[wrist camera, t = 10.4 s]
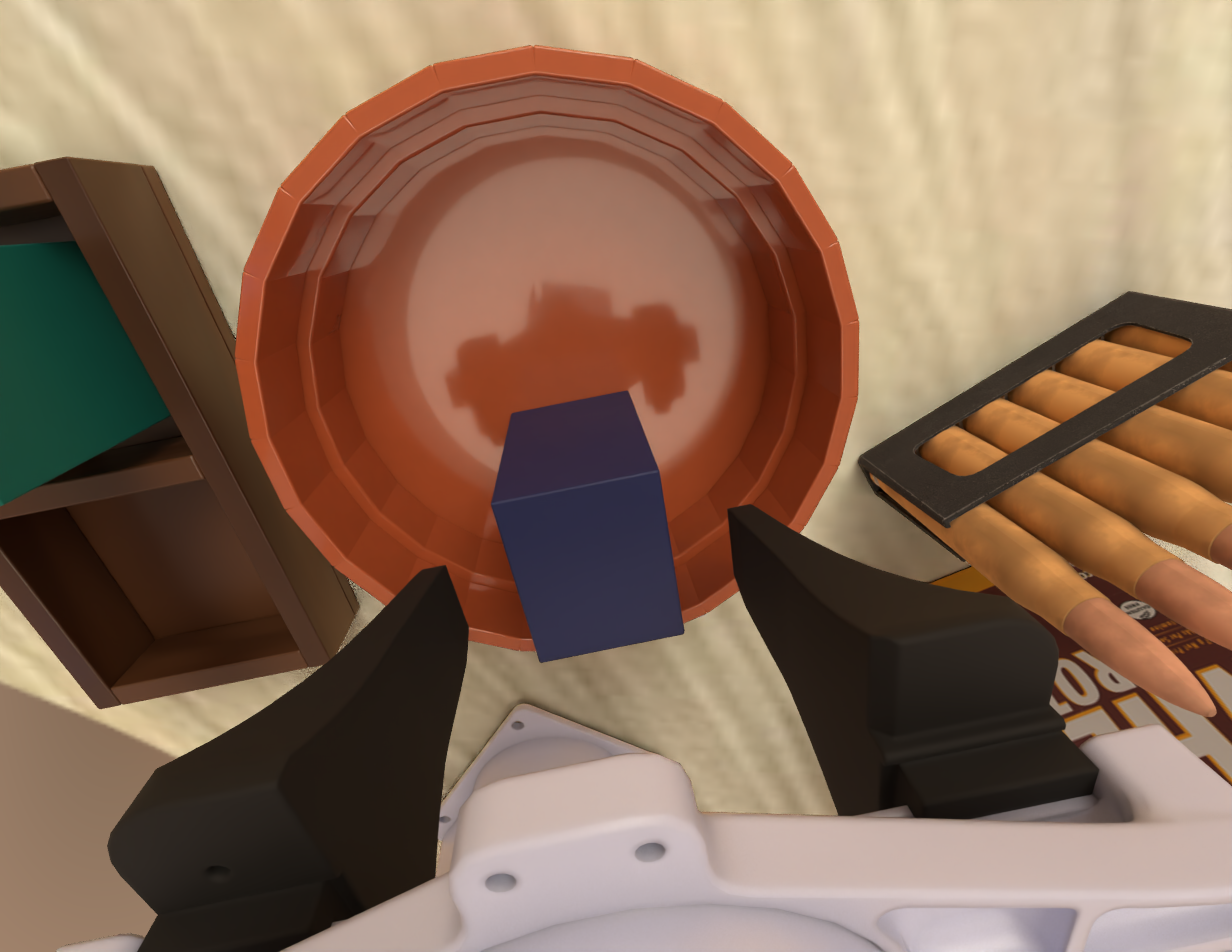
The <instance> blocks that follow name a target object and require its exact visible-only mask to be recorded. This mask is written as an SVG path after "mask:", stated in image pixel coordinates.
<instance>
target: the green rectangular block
mask: <svg viewBox="0 0 1232 952" xmlns="http://www.w3.org/2000/svg"><path fill="white" fill-rule="evenodd" d="M170 416H171V414H170V412H169V410H168V408H167V407H166V405H165V403H164V401H163V399H162V398H161V396H160V394H159V392H158V390H157V388H156V387H155V385H154V383H153V381H152V379H151V377H150V376H149V374H148V372H147V370H146V368H145V367H144V365H143V363H142V361H141V359H140V357H139V356H138V354H137V352H136V350H135V348H134V346H133V345H132V343H131V341H130V339H129V337H128V335H127V334H126V332H125V330H124V328H123V326H122V325H121V323H120V321H119V319H118V317H117V315H116V314H115V312H114V310H113V308H112V306H111V304H110V303H109V301H108V299H107V297H106V295H105V294H104V292H103V290H102V288H101V286H100V284H99V283H98V281H97V279H96V277H95V275H94V273H93V272H92V270H91V268H90V266H89V264H88V263H87V261H86V259H85V257H84V255H83V253H82V252H81V250H80V248H79V246H78V244H77V242H76V241H63V242H48V243H33V244H17V245H2V246H0V506H3V505H5V504H7V503H9V502H11V501H13V500H15V499H16V498H18V497H20V496H22V495H24V494H26V493H28V492H30V491H31V490H33V489H35V488H37V487H39V486H41V485H43V484H45V483H46V482H48V481H50V480H52V479H54V478H56V477H58V476H59V475H61V474H63V473H65V472H67V471H69V470H71V469H73V468H74V467H76V466H78V465H80V464H82V463H84V462H86V461H88V460H89V459H91V458H93V457H95V456H97V455H99V454H101V453H102V452H104V451H106V450H108V449H110V448H112V447H114V446H116V445H117V444H119V443H121V442H123V441H125V440H127V439H129V438H131V437H132V436H134V435H136V434H138V433H140V432H142V431H144V430H146V429H147V428H149V427H151V426H153V425H155V424H157V423H159V422H160V421H162V420H164V419H166V418H168V417H170Z"/></svg>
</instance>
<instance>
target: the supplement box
mask: <svg viewBox="0 0 1232 952" xmlns="http://www.w3.org/2000/svg"><path fill="white" fill-rule="evenodd" d="M1067 562H1068V561H1067ZM1068 563H1069V562H1068ZM1069 564H1070V565H1071V566H1072V567H1073V568H1074V569H1075V570H1076V571H1077V572H1078V573H1079V575H1080V576H1081V577H1082V578H1083V579H1084V580H1085V581H1087V582H1088V583H1089V584H1091V585H1092V586H1093V587H1094V588H1096V589H1097V590H1098V591H1100V592H1101V593H1102V594H1103V595H1105V596H1106V597H1107V598H1109V599H1110V601H1111V602H1112V603H1113V604H1114V605H1116V606H1117V607H1118V608H1120V609H1121V610H1123V611H1124V612H1125V613H1127V614H1128V615H1129V616H1131V617H1132V618H1133V619H1135V620H1136V621H1137V622H1139V623H1140V624H1141V625H1142V626H1144V627H1145V628H1146V629H1147V630H1148V631H1149V632H1150V633H1152V634H1153V635H1154V636H1155V637H1156V638H1157V639H1158V640H1160V641H1161V642H1162V643H1163V644H1164V645H1165V646H1166V647H1167V648H1168V649H1169V650H1170V651H1171V652H1172V653H1173V654H1174V655H1175V656H1176V657H1177V658H1178V659H1179V660H1180V661H1181V662H1182V663H1183V664H1184V665H1185V666H1186V667H1187V669H1188V670H1189V671H1190V672H1191V673H1192V674H1193V676H1194V677H1195V678H1196V679H1197V680H1198V681H1199V683H1200V684H1201V685H1202V687H1203V688H1204V689H1205V691H1206V692H1207V694H1208V695H1209V697H1210V699H1211V700H1212V702H1213V704H1214V706H1215V708H1216V712H1217V713H1216V715H1215V716H1213V717H1205V716H1202V715H1199V714H1196V713H1193V712H1190V711H1188V710H1185V709H1183V708H1180V707H1178V706H1176V705H1173V704H1171V703H1169V702H1167V701H1165V700H1163V699H1161V698H1159V697H1158V696H1156V695H1154V694H1152V693H1150V692H1148V691H1146V690H1144V689H1143V688H1141V687H1139V686H1138V685H1136V684H1134V683H1132V682H1131V681H1129V680H1128V679H1126V678H1124V677H1123V676H1121V675H1120V674H1118V673H1117V672H1115V671H1114V670H1112V669H1111V668H1110V667H1108V666H1107V665H1105V664H1104V663H1102V662H1101V661H1099V660H1098V659H1097V658H1095V657H1094V656H1093V655H1091V654H1090V653H1089V652H1088V651H1086V650H1085V649H1084V648H1083V647H1081V646H1080V645H1079V644H1078V643H1077V642H1075V641H1074V640H1073V639H1072V638H1070V637H1068V636H1066V635H1064V634H1063V633H1062V632H1061V631H1059V630H1058V629H1057V628H1055V627H1054V626H1053V625H1051V624H1050V623H1049V622H1048V621H1046V620H1045V619H1044V618H1042V617H1041V616H1039V615H1037V614H1036V613H1034V612H1032V611H1030V610H1028V609H1027V608H1025V607H1023V606H1021V605H1020V604H1018V603H1017V604H1018V605H1020V606H1021V607H1022V608H1023V609H1024V610H1026V611H1027V612H1028V613H1029V614H1030V615H1031V616H1033V617H1034V618H1035V619H1036V620H1037V621H1038V622H1039V623H1041V624H1042V625H1043V626H1044V627H1045V628H1046V629H1047V630H1048V631H1049V632H1050V633H1051V634H1052V635H1053V636H1054V637H1055V640H1056V643H1057V646H1058V649H1059V660H1058V668H1057V673H1056V677H1055V681H1054V686H1053V690H1052V695H1051V699H1050V705H1051V706H1052V707H1053V708H1054V709H1055V710H1056V711H1057V712H1058V713H1059V714H1060V715H1061V716H1062V717H1063V718H1064V720H1065V723H1066V728H1065V730H1062V731H1063V732H1064V733H1065V734H1066V735H1067V737H1068V738H1069V739H1070V740H1071V741H1072V742H1073V743H1074V744H1075V745H1076V746H1077V747H1078V748H1079V747H1080V745H1081V744H1082V743H1084V742H1085V741H1086V740H1088V739H1089V738H1092V737H1094V736H1097V735H1100V734H1105V733H1110V732H1115V731H1120V730H1125V729H1130V728H1135V727H1140V726H1144V725H1149V724H1159V725H1161V726H1162V727H1163V728H1165V729H1166V730H1167V731H1168V732H1169V733H1170V734H1172V735H1173V736H1174V737H1175V738H1176V739H1177V740H1178V741H1180V742H1181V743H1182V744H1183V745H1184V746H1185V747H1187V748H1188V749H1189V750H1190V751H1191V752H1192V753H1194V754H1195V755H1196V756H1197V757H1198V758H1199V759H1201V760H1202V761H1203V762H1204V763H1205V764H1206V765H1208V766H1209V767H1210V768H1211V769H1212V770H1213V771H1215V772H1216V773H1217V774H1218V775H1219V776H1220V777H1222V778H1223V779H1224V780H1225V781H1226V782H1227V783H1229V784H1230V785H1231V786H1232V650H1229V649H1227V648H1225V647H1223V646H1221V645H1218V644H1216V643H1214V642H1212V641H1210V640H1208V639H1206V638H1204V637H1202V636H1200V635H1198V634H1196V633H1195V632H1193V631H1191V630H1189V629H1187V628H1185V627H1184V626H1182V625H1180V624H1178V623H1176V622H1175V621H1173V620H1171V619H1169V618H1168V617H1166V616H1165V615H1163V614H1162V613H1160V612H1159V611H1157V610H1155V609H1154V608H1152V607H1151V606H1149V605H1148V604H1146V603H1145V602H1142V601H1140V600H1138V599H1136V598H1134V597H1133V596H1131V595H1129V594H1128V593H1126V592H1125V591H1123V590H1121V589H1120V588H1118V587H1116V586H1115V585H1113V584H1112V583H1110V582H1108V581H1106V580H1104V579H1101V578H1099V577H1097V576H1094V575H1092V574H1090V573H1088V572H1086V571H1083V570H1081V569H1079V568H1077V567H1076V566H1074V565H1072V564H1071V563H1069ZM930 584H933V585H938V586H943V587H948V588H952V589H957V590H963V591H970V592H978V593H985V594H992V595H999V596H1006V597H1008V596H1007V595H1006V594H1005V593H1004V592H1002V591H1001V590H1000V589H999V588H998V587H996V586H995V585H994V584H993V583H992V582H991V581H989V580H988V579H987V578H986V577H985V576H983V575H982V574H981V573H980V572H979V571H978V570H976V569H975V568H974V567H973V566H972V567H970V568H967V569H965V570H962V571H960V572H957V573H955V574H952V575H950V576H947V577H945V578H942V579H940V580H937V581H935V582H932V583H930Z"/></svg>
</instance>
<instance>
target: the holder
mask: <svg viewBox="0 0 1232 952" xmlns="http://www.w3.org/2000/svg"><path fill="white" fill-rule="evenodd" d="M63 241H76V242H77V244H78V246H79V248H80V250H81V252H82V253H83V255H84V257H85V259H86V261H87V263H88V264H89V266H90V268H91V270H92V272H93V273H94V275H95V277H96V279H97V281H98V283H99V284H100V286H101V288H102V290H103V292H104V294H105V295H106V297H107V299H108V301H109V303H110V304H111V306H112V308H113V310H114V312H115V314H116V315H117V317H118V319H119V321H120V323H121V325H122V326H123V328H124V330H125V332H126V334H127V335H128V337H129V339H130V341H131V343H132V345H133V346H134V348H135V350H136V352H137V354H138V356H139V357H140V359H141V361H142V363H143V365H144V367H145V368H146V370H147V372H148V374H149V376H150V377H151V379H152V381H153V383H154V385H155V387H156V388H157V390H158V392H159V394H160V396H161V398H162V399H163V401H164V403H165V405H166V407H167V408H168V410H169V412H170V414H171V416H170V417H168V418H166V419H164V420H162V421H160V422H159V423H157V424H155V425H153V426H151V427H149V428H147V429H146V430H144V431H142V432H140V433H138V434H136V435H134V436H132V437H131V438H129V439H127V440H125V441H123V442H121V443H119V444H117V445H116V446H114V447H112V448H110V449H108V450H106V451H104V452H102V453H101V454H99V455H97V456H95V457H93V458H91V459H89V460H88V461H86V462H84V463H82V464H80V465H78V466H76V467H74V468H73V469H71V470H69V471H67V472H65V473H63V474H61V475H59V476H58V477H56V478H54V479H52V480H50V481H48V482H46V483H45V484H43V485H41V486H39V487H37V488H35V489H33V490H31V491H30V492H28V493H26V494H24V495H22V496H20V497H18V498H16V499H15V500H13V501H11V502H9V503H7V504H5V505H3V506H0V586H1V587H2V589H3V590H4V591H5V592H6V594H7V595H8V596H9V597H10V599H11V600H12V601H13V602H14V604H15V605H16V606H17V607H18V609H19V610H20V611H21V612H22V614H23V615H24V616H25V617H26V619H27V620H28V621H29V622H30V624H31V625H32V626H33V627H34V629H35V630H36V631H37V632H38V634H39V635H40V636H41V637H42V639H43V640H44V641H45V642H46V644H47V645H48V646H49V647H50V649H51V650H52V651H53V652H54V654H55V655H56V656H57V657H58V659H59V660H60V661H61V663H62V664H63V665H64V666H65V668H66V669H67V670H68V671H69V673H70V674H71V675H72V676H73V678H74V679H75V680H76V681H77V683H78V684H79V685H80V686H81V688H82V689H83V690H84V691H85V693H86V694H87V695H88V696H89V698H90V699H91V700H92V701H93V703H94V704H95V705H96V706H97V708H99V709H104V708H109V707H114V706H119V705H121V704H129V703H134V702H139V701H144V700H149V699H154V698H159V697H164V696H169V695H174V694H179V693H184V692H189V691H194V690H199V689H204V688H209V687H213V686H218V685H223V684H228V683H233V682H238V681H243V680H248V679H253V678H258V677H263V676H268V675H273V674H278V673H283V672H288V671H293V670H298V669H303V668H307V667H315V666H320V665H324V664H326V663H327V662H328V661H329V660H330V659H332V658H333V657H334V656H335V655H336V654H337V652H338V650H339V648H340V646H341V644H342V642H343V640H344V638H345V636H346V634H347V632H348V630H349V628H350V626H351V624H352V622H353V620H354V618H355V615H356V613H357V611H358V609H359V604H358V602H357V600H356V598H355V596H354V594H353V591H352V589H351V587H350V585H349V583H348V581H347V579H346V577H345V575H343V574H342V573H341V572H339V571H338V570H337V569H335V566H332V565H331V564H330V563H329V561H328V560H327V559H326V558H325V557H324V556H323V554H322V553H321V552H320V551H319V550H318V548H317V547H316V546H315V545H314V544H313V543H312V541H311V540H310V539H309V538H308V537H307V536H306V534H305V533H304V532H303V531H302V530H301V529H300V527H299V526H298V525H297V524H296V523H295V522H294V520H293V519H292V518H291V517H290V516H289V515H288V513H287V512H286V509H284V507H283V505H282V503H281V501H280V499H279V497H278V495H277V493H276V491H275V489H274V487H273V485H272V483H271V481H270V479H269V477H268V475H267V473H266V471H265V469H264V467H263V465H262V463H261V461H260V459H259V457H258V455H257V453H256V451H255V449H254V447H253V445H252V443H251V440H252V439H250V437H249V432H248V426H247V421H246V416H245V411H244V406H243V400H242V395H241V390H240V385H239V380H238V375H237V369H236V364H235V359H236V358H235V346H236V341H235V339H234V337H233V335H232V333H231V330H230V328H229V326H228V324H227V322H226V320H225V318H224V315H223V313H222V311H221V309H220V307H219V305H218V303H217V300H216V298H215V296H214V294H213V292H212V290H211V288H210V285H209V283H208V281H207V279H206V277H205V275H204V273H203V271H202V268H201V266H200V264H199V262H198V260H197V258H196V256H195V253H194V251H193V249H192V247H191V245H190V243H189V241H188V238H187V236H186V234H185V232H184V230H183V228H182V226H181V223H180V221H179V219H178V217H177V215H176V213H175V211H174V208H173V206H172V204H171V202H170V200H169V198H168V196H167V193H166V191H165V189H164V187H163V185H162V183H161V181H160V179H159V176H158V174H157V172H156V170H155V168H154V167H153V166H146V165H138V164H130V163H121V162H111V161H102V160H93V159H83V158H74V157H62V158H57V159H52V160H47V161H41V162H36V163H34V164H28V165H23V166H18V167H13V168H7V169H2V170H0V246H2V245H17V244H33V243H48V242H63Z"/></svg>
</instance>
